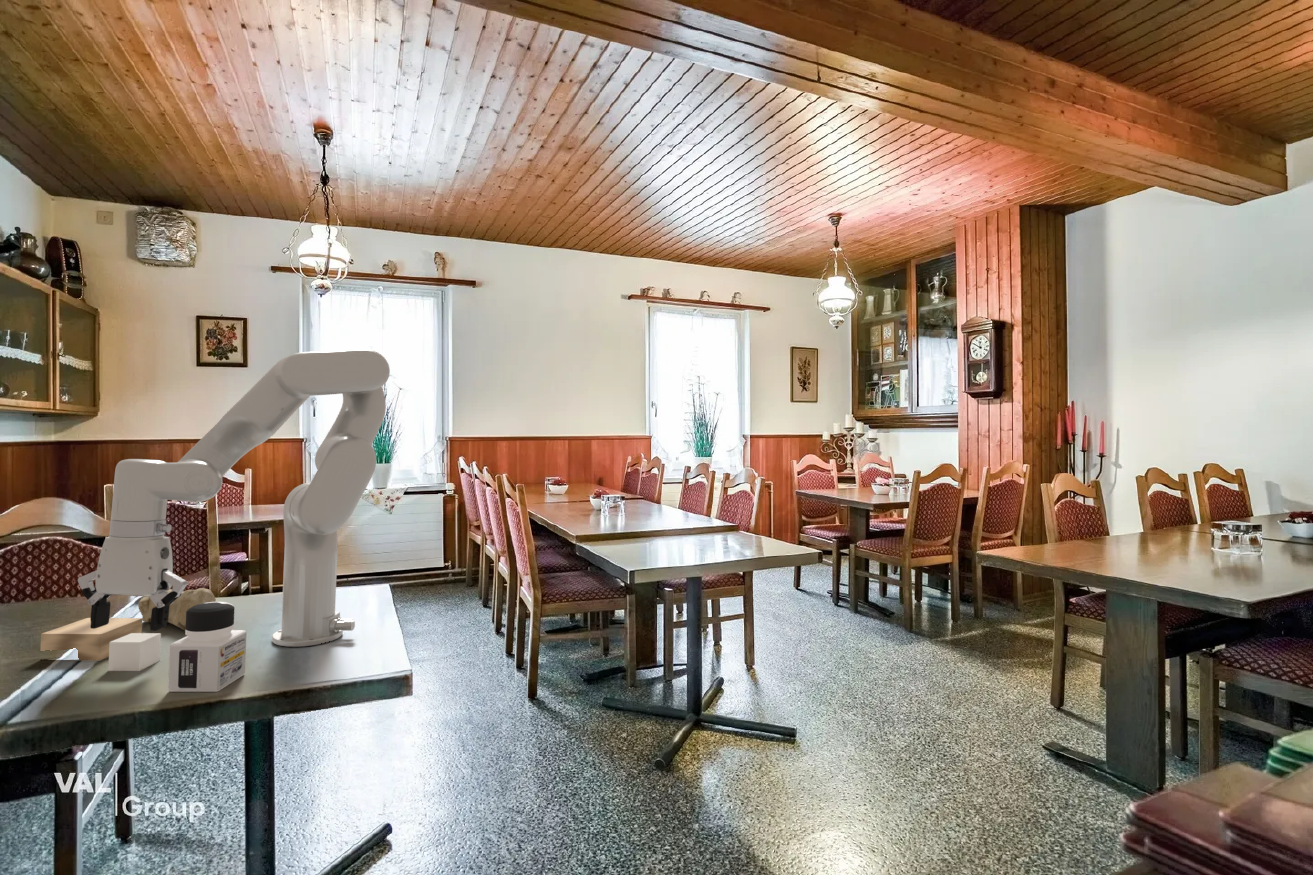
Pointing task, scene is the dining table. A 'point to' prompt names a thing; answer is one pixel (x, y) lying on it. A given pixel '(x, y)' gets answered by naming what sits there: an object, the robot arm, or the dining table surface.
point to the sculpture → (177, 605)
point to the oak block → (89, 637)
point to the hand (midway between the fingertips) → (129, 627)
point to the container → (207, 650)
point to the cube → (134, 651)
